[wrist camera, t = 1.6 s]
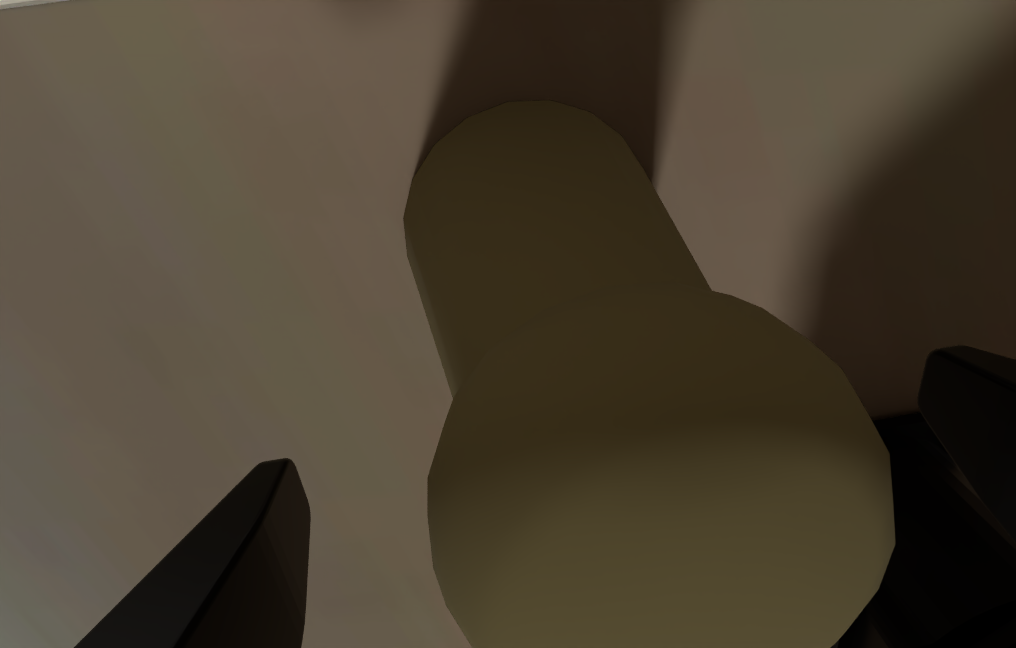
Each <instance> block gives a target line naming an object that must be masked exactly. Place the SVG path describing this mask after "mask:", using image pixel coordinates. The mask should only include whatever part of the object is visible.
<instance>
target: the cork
mask: <svg viewBox="0 0 1016 648" xmlns="http://www.w3.org/2000/svg"><path fill="white" fill-rule="evenodd" d="M403 219H404V229H405V239H406V249H407V257H408V260H409V263H410V266H411V269H412V272H413V275H414V278H415V281H416V285H417V288H418V291H419V294H420V297H421V300H422V303H423V306H424V309H425V313H426V316H427V319H428V322H429V325H430V328H431V331H432V334H433V338H434V341H435V344H436V347H437V350H438V353H439V356H440V359H441V362H442V366H443V369H444V372H445V375H446V378H447V381H448V384H449V387H450V390H451V394H452V397H453V401H452V404H451V407H450V409H449V412H448V415H447V418H446V421H445V423H444V427H443V430H442V433H441V436H440V440H439V443H438V446H437V449H436V453H435V456H434V459H433V462H432V466H431V469H430V472H429V475H428V524H429V533H430V542H431V551H432V561H433V568H434V571H435V574H436V577H437V580H438V583H439V586H440V589H441V592H442V594H443V597H444V600H445V603H446V606H447V608H448V609H449V611H450V612H451V614H452V616H453V617H454V619H455V620H456V622H457V624H458V625H459V627H460V628H461V630H462V632H463V633H464V635H465V636H466V638H467V640H468V641H469V643H470V645H471V646H472V648H830V647H831V646H833V645H834V644H835V643H836V642H837V641H838V640H839V639H840V638H841V636H842V635H843V634H844V633H845V632H846V631H847V629H848V628H849V627H850V626H851V624H852V623H853V622H854V620H855V619H856V618H857V617H858V615H859V614H860V613H861V611H862V610H863V609H864V608H865V606H866V605H867V604H868V602H869V601H870V600H871V598H872V597H873V596H874V595H875V593H876V592H877V591H878V589H879V587H880V584H881V581H882V579H883V576H884V573H885V571H886V568H887V565H888V563H889V560H890V557H891V554H892V552H893V549H894V546H895V544H896V543H895V526H894V508H893V493H892V479H891V466H890V454H889V452H888V450H887V448H886V446H885V444H884V442H883V440H882V439H881V437H880V435H879V433H878V431H877V429H876V427H875V426H874V424H873V422H872V420H871V418H870V416H869V414H868V413H867V411H866V409H865V408H864V406H863V404H862V403H861V401H860V399H859V397H858V396H857V394H856V392H855V391H854V389H853V387H852V386H851V384H850V382H849V380H848V379H847V377H846V375H845V374H844V372H843V370H842V369H841V368H840V367H839V366H838V365H837V364H836V363H835V362H833V361H832V360H831V359H830V358H829V357H828V356H827V355H826V354H825V353H823V352H822V351H821V350H820V349H819V348H818V347H817V346H816V345H815V344H813V343H812V342H811V341H810V340H808V339H807V338H805V337H804V336H802V335H801V334H800V333H798V332H797V331H795V330H794V329H792V328H791V327H789V326H788V325H786V324H785V323H783V322H782V321H781V320H779V319H778V318H776V317H775V316H773V315H772V314H770V313H769V312H767V311H766V310H764V309H763V308H761V307H758V306H756V305H754V304H751V303H749V302H746V301H744V300H741V299H739V298H736V297H734V296H731V295H727V294H723V293H719V292H715V291H712V290H711V288H710V287H709V285H708V283H707V281H706V279H705V278H704V276H703V274H702V272H701V271H700V269H699V267H698V265H697V264H696V262H695V260H694V258H693V256H692V255H691V253H690V251H689V249H688V248H687V246H686V244H685V242H684V240H683V239H682V237H681V235H680V233H679V232H678V230H677V228H676V226H675V224H674V223H673V221H672V219H671V217H670V216H669V214H668V212H667V210H666V209H665V207H664V205H663V203H662V201H661V200H660V198H659V196H658V194H657V193H656V191H655V189H654V187H653V185H652V184H651V182H650V180H649V178H648V177H647V175H646V173H645V171H644V169H643V168H642V166H641V165H640V163H639V162H638V160H637V159H636V157H635V155H634V154H633V152H632V151H631V149H630V148H629V146H628V145H627V143H626V142H625V140H624V139H623V137H622V136H621V135H620V134H619V133H617V132H616V131H615V130H613V129H612V128H611V127H609V126H608V125H607V124H605V123H604V122H603V121H601V120H600V119H599V118H597V117H596V116H594V115H593V114H592V113H590V112H589V111H585V110H582V109H579V108H575V107H572V106H569V105H565V104H562V103H559V102H555V101H552V100H538V101H515V102H506V103H503V104H501V105H498V106H496V107H493V108H490V109H488V110H485V111H483V112H480V113H478V114H475V115H472V116H470V117H467V118H466V119H465V120H464V121H462V122H461V123H460V124H459V125H458V126H456V127H455V128H454V129H453V130H452V131H450V132H449V133H448V134H447V135H445V136H444V137H443V138H442V139H441V140H439V141H438V142H437V143H436V144H435V145H434V146H433V148H432V149H431V151H430V152H429V154H428V156H427V157H426V159H425V160H424V162H423V164H422V165H421V167H420V168H419V170H418V172H417V173H416V175H415V176H414V178H413V180H412V184H411V188H410V192H409V196H408V201H407V205H406V209H405V213H404V218H403Z"/></svg>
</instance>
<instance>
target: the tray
mask: <svg viewBox="0 0 1016 648" xmlns="http://www.w3.org/2000/svg"><path fill="white" fill-rule="evenodd" d="M61 1H68V0H0V9H7V8H14V7H22V6H30V5H37V4H45V3H53V2H61Z"/></svg>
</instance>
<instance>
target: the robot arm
mask: <svg viewBox="0 0 1016 648" xmlns="http://www.w3.org/2000/svg"><path fill="white" fill-rule="evenodd" d="M918 406H919V409H920V412H921V413H917V414H911V415H905V416H900V417H894V418H888V419H882V420H877V421H872V422H873V424H874V426H875V427H876V429H877V431H878V433H879V435H880V437H881V439H882V440H883V442H884V444H885V446H886V448H887V450H888V452H889V454H890V466H891V479H892V493H893V508H894V526H895V543H896V544H895V546H894V549H893V552H892V554H891V557H890V560H889V563H888V565H887V568H886V571H885V573H884V576H883V579H882V581H881V584H880V587H879V589H878V591H877V592H876V593H875V595H874V596H873V597H872V598H871V600H870V601H869V602H868V604H867V605H866V606H865V608H864V609H863V610H862V611H861V613H860V614H859V615H858V617H857V618H856V619H855V620H854V622H853V623H852V624H851V626H850V627H849V628H848V629H847V631H846V632H845V633H844V634H843V635H842V636H841V638H840V639H839V640H838V641H837V642H836V643H835V644H834V645H833V646H831V647H830V648H1016V360H1014V359H1011V358H1007V357H1004V356H1000V355H997V354H993V353H989V352H986V351H982V350H979V349H975V348H972V347H968V346H962V345H958V346H952V347H946V348H940V349H935V350H934V351H932V352H931V353H930V354H929V355H928V356H927V359H926V362H925V367H924V371H923V375H922V380H921V384H920V388H919V393H918ZM310 520H311V517H310V507H309V503H308V499H307V497H306V494H305V491H304V488H303V485H302V483H301V480H300V477H299V474H298V471H297V469H296V466H295V464H294V463H293V461H292V460H290V459H288V458H283V459H277V460H271V461H265V462H261V463H259V464H258V465H257V466H255V467H254V468H253V469H252V470H251V471H250V472H249V473H248V474H247V475H246V476H245V477H244V478H243V479H242V480H241V481H240V482H239V483H238V484H237V485H236V486H235V487H234V488H233V489H232V490H231V491H230V492H229V493H228V494H227V495H226V496H225V497H224V498H223V499H222V500H221V501H220V502H219V503H218V504H217V505H216V506H215V507H214V508H213V509H212V510H211V511H210V512H209V513H208V514H207V515H206V516H205V517H204V518H203V519H202V520H201V521H200V522H199V523H198V524H197V525H196V526H195V527H194V528H193V529H192V530H191V531H190V532H189V533H188V534H187V535H186V536H185V537H184V538H183V539H182V540H181V541H180V542H179V543H178V544H177V545H176V546H175V547H174V548H173V549H172V550H171V551H170V552H169V553H168V554H167V555H166V556H165V557H164V558H163V559H162V560H161V561H160V562H159V563H158V564H157V565H156V566H155V567H154V568H153V569H152V570H151V571H150V572H149V573H148V574H147V575H146V576H145V577H144V578H143V579H142V580H141V581H140V582H139V583H138V584H137V585H136V586H135V587H134V588H133V589H132V590H131V591H130V592H129V593H128V594H127V595H126V596H125V597H124V598H123V599H122V600H121V601H120V602H119V603H118V604H117V605H116V606H115V607H114V608H113V609H112V610H111V611H110V612H109V613H108V614H107V615H106V616H105V617H104V618H103V619H102V620H101V621H100V622H99V623H98V624H97V625H96V626H95V627H94V628H93V629H92V630H91V631H90V632H89V633H88V634H87V635H86V636H85V637H84V638H83V639H82V640H81V641H80V642H79V643H78V644H77V645H76V646H75V647H74V648H301V646H302V639H303V632H304V625H305V613H306V596H307V577H308V559H309V540H310Z"/></svg>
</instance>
